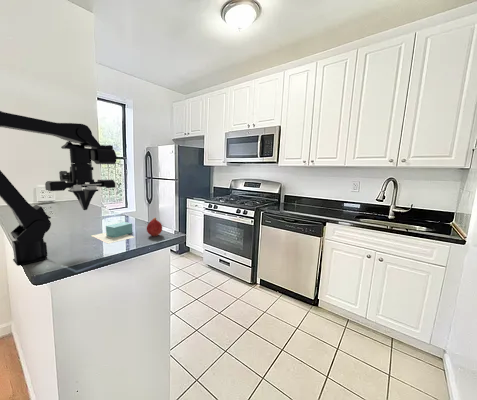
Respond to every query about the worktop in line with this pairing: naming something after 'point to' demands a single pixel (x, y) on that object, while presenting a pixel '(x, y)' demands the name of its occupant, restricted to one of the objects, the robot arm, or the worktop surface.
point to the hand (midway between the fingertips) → (85, 210)
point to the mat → (111, 238)
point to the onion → (154, 227)
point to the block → (119, 229)
